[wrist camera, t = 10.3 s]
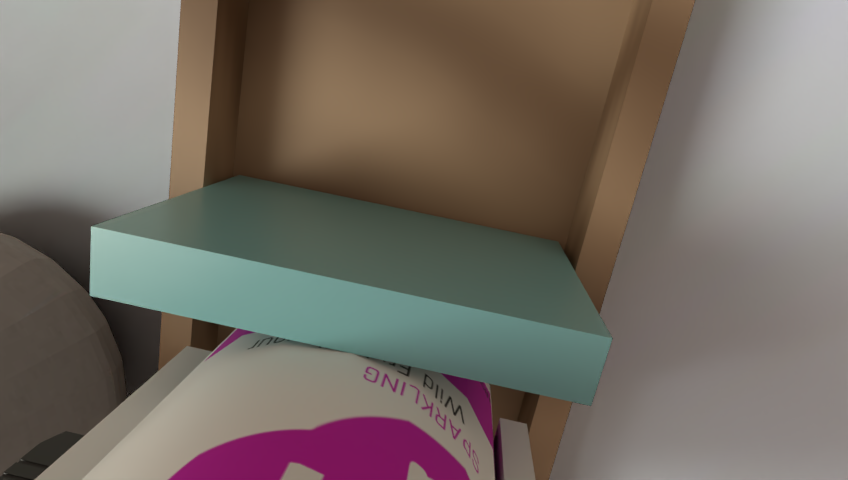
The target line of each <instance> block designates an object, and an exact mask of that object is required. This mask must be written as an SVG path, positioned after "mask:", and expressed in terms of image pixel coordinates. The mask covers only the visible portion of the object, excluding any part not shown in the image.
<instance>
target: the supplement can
mask: <svg viewBox="0 0 848 480" xmlns="http://www.w3.org/2000/svg"><path fill="white" fill-rule="evenodd" d="M82 480H496V479H495V460H494V440H493V421H492V402H491V386H490V384H489V383H484V382H479V381H475V380H470V379H466V378H461V377H457V376H452V375H448V374H443V373H439V372H434V371H430V370H425V369H420V368H416V367H411V366H407V365H402V364H398V363H393V362H389V361H384V360H379V359H375V358H370V357H366V356H361V355H357V354H353V353H348V352H343V351H339V350H334V349H330V348H325V347H320V346H316V345H311V344H307V343H302V342H298V341H293V340H289V339H284V338H280V337H275V336H270V335H266V334H261V333H257V332H252V331H248V330H243V329H239V328H236V329H235V330H234V331H233V332H232V333H231V334H230V335H229V336H228V337H227V338H226V339H225V340H224V341H223V342H222V343H221V344H220V345H219V346H218V347H217V348H216V349H215V350H214V351H213V352H212V353H210V354H209V355H208V356H207V357H206V358H205V359H204V360H203V361H202V362H201V363H200V364H199V365H198V366H197V367H196V368H195V369H194V370H193V371H192V372H191V373H190V374H189V375H188V376H187V377H186V378H185V379H184V380H183V381H182V382H181V383H180V384H179V385H178V386H177V387H176V388H175V389H174V390H173V391H172V392H171V393H170V394H169V395H168V396H167V397H165V398H164V399H163V400H162V401H161V402H160V403H159V404H158V405H157V406H156V407H155V408H154V409H153V410H152V411H151V412H150V413H149V414H148V415H147V416H146V417H145V418H144V419H143V420H142V421H141V422H140V423H139V424H138V425H137V426H136V427H135V428H134V429H133V430H132V431H131V432H130V433H129V434H128V435H127V436H126V437H125V438H124V439H123V440H122V441H121V442H119V443H118V444H117V445H116V446H115V447H114V448H113V449H112V450H111V451H110V452H109V453H108V454H107V455H106V456H105V457H104V458H103V459H102V460H101V461H100V462H99V463H98V464H97V465H96V466H95V467H94V468H93V469H92V470H91V471H90V472H89V473H88V474H87V475H86V476H85V477H84V478H83V479H82Z"/></svg>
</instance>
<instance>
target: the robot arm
mask: <svg viewBox="0 0 848 480" xmlns="http://www.w3.org/2000/svg"><path fill="white" fill-rule="evenodd" d="M210 353H212V351H207V350H203V349H199V348H194V347H190V346H186V347H185V348H184V349H183V350H182V351H181V352H180V353H178V354H177V355H176V356H175V357H174V358H173V359H172V360H170V361H169V362H168V363H167V364H166V365H165V366H164V367H162V368H161V369H160V370H159V371H158V372H157V373H156V374H154V375H153V376H152V377H151V378H150V379H149V380H148V381H146V382H145V383H144V384H143V385H142V386H141V387H140V388H138V389H137V390H136V391H135V392H134V393H133V394H132V395H130V396H129V397H128V398H127V399H126V400H125V401H124V402H122V403H121V404H120V405H119V406H118V407H117V408H116V409H114V410H113V411H112V412H111V413H110V414H109V415H108V416H106V417H105V418H104V419H103V420H102V421H101V422H100V423H98V424H97V425H96V426H95V427H94V428H93V429H92V430H90V431H89V432H88V433H87V434H86V435H81V434H77V433H72V432H68V431H65V432H63V433H60V434H58V435H56V436H54V437H52V438H50V439H47V440H45V441H43V442H41V443H39V444H38V445H37V446H36V447H34V448H33V449H32V450H31V451H29V452H28V453H27V454H26V455H24V456H23V457H22V458H21V459H20V461H19V462H18V463H17V462H16V463H14V464H13V465H12V466H11V467H9V468H8V469H7V470H6V471H4V472H3V475H2V476H0V480H82V479H83V478H84V477H85V476H86V475H87V474H88V473H89V472H90V471H91V470H92V469H93V468H94V467H95V466H96V465H97V464H98V463H99V462H100V461H101V460H102V459H103V458H104V457H105V456H106V455H107V454H108V453H109V452H110V451H111V450H112V449H113V448H114V447H115V446H116V445H117V444H118V443H119V442H121V441H122V440H123V439H124V438H125V437H126V436H127V435H128V434H129V433H130V432H131V431H132V430H133V429H134V428H135V427H136V426H137V425H138V424H139V423H140V422H141V421H142V420H143V419H144V418H145V417H146V416H147V415H148V414H149V413H150V412H151V411H152V410H153V409H154V408H155V407H156V406H157V405H158V404H159V403H160V402H161V401H162V400H163V399H164V398H165V397H167V396H168V395H169V394H170V393H171V392H172V391H173V390H174V389H175V388H176V387H177V386H178V385H179V384H180V383H181V382H182V381H183V380H184V379H185V378H186V377H187V376H188V375H189V374H190V373H191V372H192V371H193V370H194V369H195V368H196V367H197V366H198V365H199V364H200V363H201V362H202V361H203V360H204V359H205V358H206V357H207V356H208V355H209V354H210ZM494 460H495V479H496V480H535V473H534V467H533V460H532V454H531V447H530V441H529V435H528V428H527V424H525V423H521V422H516V421H512V420H507V419H503V418H500V419H499V423H498V426H497V430H496V433H495V437H494Z"/></svg>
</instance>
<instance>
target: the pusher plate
mask: <svg viewBox="0 0 848 480" xmlns="http://www.w3.org/2000/svg"><path fill="white" fill-rule="evenodd" d="M90 296H93V297H98V298H102V299H107V300H111V301H116V302H120V303H125V304H130V305H134V306H139V307H143V308H148V309H152V310H157V311H161V312H166V313H170V314H175V315H180V316H184V317H189V318H193V319H198V320H202V321H207V322H211V323H216V324H220V325H225V326H230V327H234V328H239V329H243V330H248V331H252V332H257V333H261V334H266V335H270V336H275V337H280V338H284V339H289V340H293V341H298V342H302V343H307V344H311V345H316V346H320V347H325V348H330V349H334V350H339V351H343V352H348V353H353V354H357V355H361V356H366V357H370V358H375V359H379V360H384V361H389V362H393V363H398V364H402V365H407V366H411V367H416V368H420V369H425V370H430V371H434V372H439V373H443V374H448V375H452V376H457V377H461V378H466V379H470V380H475V381H479V382H484V383H489V384H493V385H498V386H502V387H507V388H511V389H516V390H520V391H525V392H529V393H534V394H539V395H543V396H548V397H552V398H557V399H561V400H566V401H570V402H575V403H579V404H584V405H589V406H591V405H592V402H593V398H594V395H595V392H596V389H597V386H598V383H599V380H600V376H601V373H602V370H603V367H604V364H605V361H606V358H607V354H608V351H609V348H610V345H611V342H612V339H613V338H612V336H611V335H610V333H609V331H608V329H607V327H606V326H605V324H604V322H603V320H602V319H601V317H600V315H599V313H598V311H597V310H596V308H595V306H594V304H593V303H592V301H591V299H590V297H589V295H588V294H587V292H586V290H585V288H584V286H583V285H582V283H581V281H580V279H579V278H578V276H577V274H576V272H575V270H574V269H573V267H572V265H571V263H570V261H569V260H568V258H567V256H566V254H565V253H564V251H563V249H562V247H561V245H560V244H559V242H558V241H553V240H548V239H543V238H539V237H534V236H529V235H524V234H519V233H515V232H510V231H505V230H500V229H496V228H491V227H486V226H481V225H476V224H472V223H467V222H462V221H457V220H453V219H448V218H443V217H438V216H433V215H429V214H424V213H419V212H414V211H409V210H405V209H400V208H395V207H390V206H386V205H381V204H376V203H371V202H366V201H362V200H357V199H352V198H347V197H343V196H338V195H333V194H328V193H323V192H319V191H314V190H309V189H304V188H300V187H295V186H290V185H285V184H280V183H276V182H271V181H266V180H261V179H257V178H252V177H247V176H242V175H238V176H235V177H232V178H229V179H226V180H223V181H220V182H217V183H215V184H212V185H209V186H206V187H203V188H200V189H197V190H194V191H191V192H189V193H186V194H183V195H180V196H177V197H174V198H171V199H168V200H165V201H163V202H160V203H157V204H154V205H151V206H148V207H145V208H142V209H139V210H137V211H134V212H131V213H128V214H125V215H122V216H119V217H116V218H113V219H110V220H108V221H105V222H102V223H99V224H96V225H93V226H91V252H90Z"/></svg>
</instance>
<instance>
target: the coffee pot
mask: <svg viewBox="0 0 848 480" xmlns="http://www.w3.org/2000/svg"><path fill="white" fill-rule="evenodd" d="M126 393H127V392H126V385H125V377H124V370H123V362H122V357H121V354H120V352H119V349H118V347H117V345H116V342H115V340H114V337H113V335H112V332H111V330H110V327H109V325H108V322H107V320H106V318H105V317H104V315H103V313H102V312H101V311H100V309H99V308H98V306H97V305H96V303H95V302H94V301H93V299H92V298H91V296H90V295H89V294H88V292H87V291H86V290H85V289H84V288H83V287H82V286H81V285H80V284H79V283H78V282H76V281H75V280H74V279H73V278H72V277H71V276H70V275H69V274H68V273H67V272H66V271H65V270H63V269H62V268H61V267H60V266H59V265H58V264H57V263H56V262H55V261H54V260H53V259H51V258H50V257H48V256H46V255H44V254H43V253H41V252H39V251H38V250H36V249H34V248H32V247H31V246H29V245H27V244H26V243H24V242H22V241H21V240H19V239H17V238H15V237H13V236H9V235H6V234H3V233H0V476H2V475H3V472H4V471H6V470H7V469H8V468H9V467H11V466H12V465H13V464H14V463H16V462H17V463H18V462H19V461H20V459H21V458H22V457H23V456H24V455H26V454H27V453H28V452H29V451H31V450H32V449H33V448H34V447H36V446H37V445H38V444H39V443H41V442H43V441H45V440H47V439H50V438H52V437H54V436H56V435H58V434H60V433H63V432H65V431H68V432H72V433H77V434H81V435H86V434H87V433H88V432H89V431H90V430H92V429H93V428H94V427H95V426H96V425H97V424H98V423H100V422H101V421H102V420H103V419H104V418H105V417H106V416H108V415H109V414H110V413H111V412H112V411H113V410H114V409H116V408H117V407H118V406H119V405H120V404H121V403H122V402H124V401H125V400H126Z"/></svg>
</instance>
